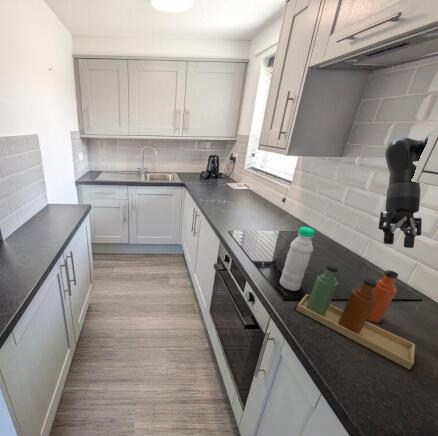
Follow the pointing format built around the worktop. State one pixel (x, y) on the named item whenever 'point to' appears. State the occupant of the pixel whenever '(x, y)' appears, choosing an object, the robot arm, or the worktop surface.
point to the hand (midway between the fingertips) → (398, 245)
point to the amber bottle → (359, 306)
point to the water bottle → (297, 260)
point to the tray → (366, 335)
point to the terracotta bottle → (383, 296)
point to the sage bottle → (323, 291)
